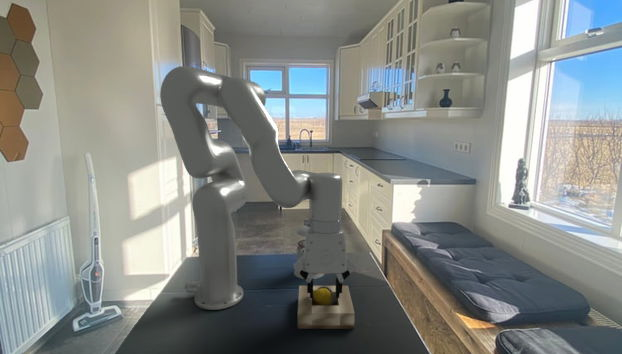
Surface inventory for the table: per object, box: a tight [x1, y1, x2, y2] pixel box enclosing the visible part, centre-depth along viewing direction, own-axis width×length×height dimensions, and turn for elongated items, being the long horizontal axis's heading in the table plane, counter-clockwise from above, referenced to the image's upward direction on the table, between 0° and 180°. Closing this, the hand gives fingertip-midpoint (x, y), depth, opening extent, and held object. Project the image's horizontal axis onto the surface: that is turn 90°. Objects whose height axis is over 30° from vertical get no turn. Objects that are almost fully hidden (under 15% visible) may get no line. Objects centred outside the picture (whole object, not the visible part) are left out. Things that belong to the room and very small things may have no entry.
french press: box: [293, 199, 325, 280], centre depth 103 cm, size 10×12×25 cm
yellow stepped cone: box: [313, 287, 334, 306], centre depth 81 cm, size 5×5×10 cm
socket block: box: [297, 285, 356, 330], centre depth 82 cm, size 13×13×4 cm
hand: (324, 294), depth 81 cm, fingers open, 5 cm apart
